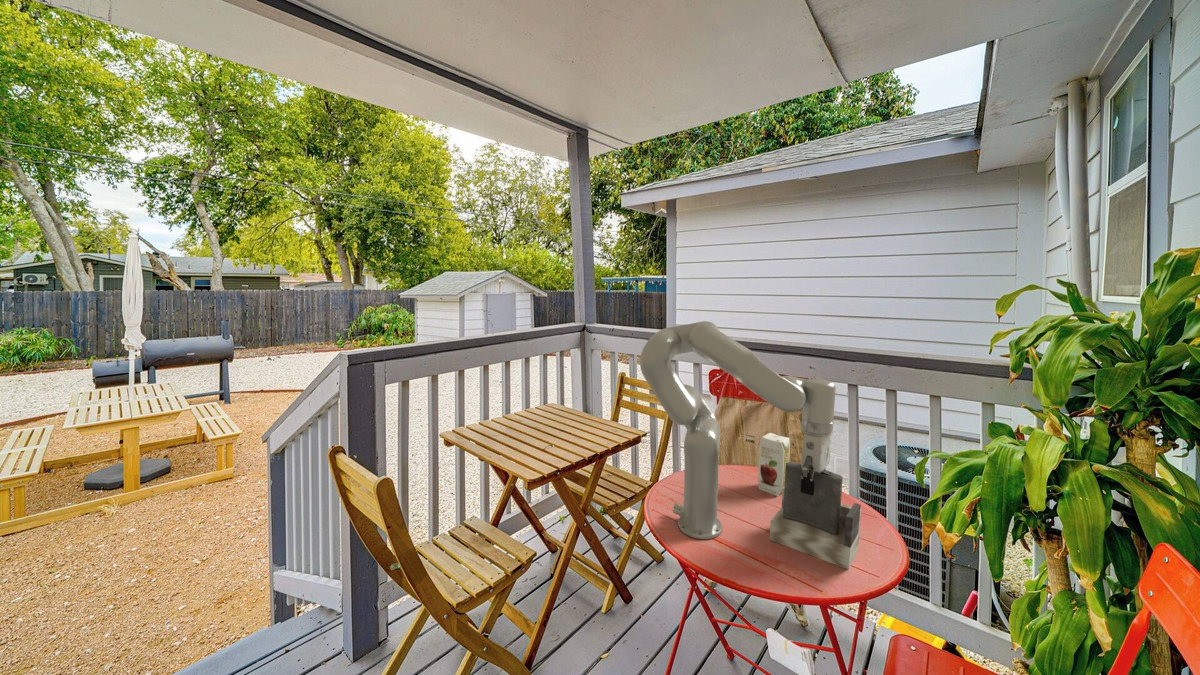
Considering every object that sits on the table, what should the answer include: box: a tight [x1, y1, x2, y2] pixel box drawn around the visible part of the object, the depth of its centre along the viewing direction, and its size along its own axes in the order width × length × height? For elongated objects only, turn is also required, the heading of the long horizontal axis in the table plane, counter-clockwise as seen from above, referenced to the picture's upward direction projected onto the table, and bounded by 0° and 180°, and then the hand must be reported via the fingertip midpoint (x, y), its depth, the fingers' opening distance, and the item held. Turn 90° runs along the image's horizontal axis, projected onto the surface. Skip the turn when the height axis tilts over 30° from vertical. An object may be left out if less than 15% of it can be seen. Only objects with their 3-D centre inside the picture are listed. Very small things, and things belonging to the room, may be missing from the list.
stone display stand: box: [769, 488, 862, 570], centre depth 125 cm, size 20×10×14 cm, turn 50°
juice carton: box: [757, 432, 791, 497], centre depth 156 cm, size 8×9×19 cm
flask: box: [783, 461, 844, 535], centre depth 125 cm, size 4×14×18 cm, turn 49°
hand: (812, 486), depth 124 cm, fingers open, 9 cm apart
